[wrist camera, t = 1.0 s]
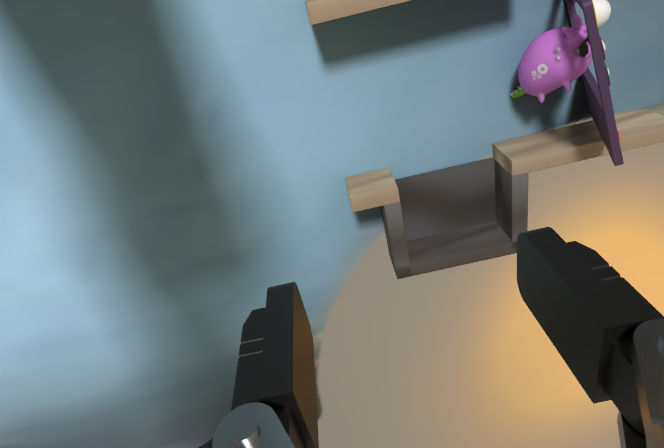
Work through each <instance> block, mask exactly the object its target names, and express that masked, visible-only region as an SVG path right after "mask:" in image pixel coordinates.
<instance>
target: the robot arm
mask: <svg viewBox="0 0 664 448" xmlns="http://www.w3.org/2000/svg"><path fill="white" fill-rule="evenodd" d="M517 282H518V287H519V291H520V294H521V296H522V298H523V300H524V302H525V303H526V305H527V306H528V308H529V309H530V311H531V312H532V314H533V315H534V317H535V318H536V319H537V321H538V322H539V324H540V325H541V327H542V328H543V330H544V331H545V333H546V334H547V336H548V337H549V339H550V340H551V342H552V343H553V345H554V346H555V347H556V349H557V350H558V352H559V353H560V355H561V356H562V358H563V359H564V361H565V362H566V363H567V365H568V367H569V368H570V370H571V371H572V373H573V374H574V376H575V377H576V379H577V380H578V381H579V383H580V384H581V386H582V387H583V389H584V390H585V392H586V393H587V395H588V396H589V398H590V399H591V401H592V402H593V403H598V402H603V401H608V400H612V401H613V403H614V404H615V405H616V407H617V408H618V409H619V412H618V418H617V422H618V430H619V437H620V444H621V448H664V316H663V315H662V314H661V313H659V312H658V311H657V310H656V309H655V308H654V307H653V306H652V305H651V304H650V303H649V302H648V301H647V300H646V299H645V298H644V297H643V296H642V295H641V294H640V293H639V292H637V290H635V289H634V288H633V287H632V286H631V285H630V284H629V283H628V282H627V281H626V280H625V279H624V278H621V277H620V274H619V273H618V272H617V271H616V270H615V269H614V268H613V267H610V266H609V264H608V263H607V262H606V261H605V260H604V259H603V258H602V257H601V256H600V255H599V254H598V253H597V252H596V251H595V250H593V249H591V248H588V247H587V246H584V245H582V244H580V243H578V242H576V241H573V242H568V243H566V242H565V241H564V240H563V239H562V238H561V237H560V236H559V235H558V234H557V233H556V232H555V231H554V230H553V229H552V228H550V227H545V228H541V229H536V230H531V231H527V232H522V233H519V235H518V237H517ZM239 356H240V358H239V359H238V366H237V373H236V380H235V387H234V394H233V402H232V408H231V412H229V413H228V414H227V415H226V416H225V417H224V418H223V419H222V420H221V422H220V423H219V425H218V426H217V428H216V430H215V433H214V436H213V438H212V439H211V440H210V441H209V442H207V443H206V444H204V445H202V446H201V447H199V448H319V446H318V425H317V405H316V386H315V366H314V346H313V337H312V332H311V327H310V323H309V320H308V317H307V314H306V311H305V308H304V305H303V302H302V299H301V296H300V293H299V290H298V287H297V285H296V283H295V282H291V283H287V284H282V285H278V286H273V287H269V288H268V290H267V300H266V307H265V308H261V309H256V310H252V312H251V314H250V315H249V317H248V318H247V320H246V322H245V323H244V325H243V330H242V337H241V345H240V351H239Z"/></svg>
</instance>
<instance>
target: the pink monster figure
mask: <svg viewBox="0 0 664 448" xmlns="http://www.w3.org/2000/svg"><path fill="white" fill-rule="evenodd" d="M565 1H566V5H567V10H568V14H569V19H570V24H571V28H567V27H562V28H556V29H552V30H549V31H546V32H544V33H543V34H541V35H539V36H538V37H537V38H536V39H534V40H533V41H532V43H531V44H530V45H529V46H528V48H527V49H526V51H525V52H524V54H523V56H522V58H521V61H520V64H519V69H518V78H519V82H520V85H521V87H518V86H517V87H518V90H515V91H513V93H511V96H512V98H517V97H520V96H522V95H523V94H526V93H528V94H530V95H533V96H537V97H538V99H539V101H540V103H543V101H544V98H545V95H546V94H548V93H550V92H552V91H554V90H555V89H557V88H559V87H561V86H564V87H565V88H566V89H567V90H568V91H570V89H571V82H572V81H573V80H575V79H577V78H578V77H579V76H581V75H582V78H583V83H584V87H585V92H586V96H587V101H588V106H589V110H590V114H591V116H592V118H593V120H594V122H595V124H596V127H597V129H598V131H599V133H600V135H601V137H602V139H603V141H604V144H605V146H606V148H607V150H608V152H609V154H610V156H611V158H612V161H613V163H614V165H615V166H617V165H621V164H623V158H622V153H621V148H620V143H619V140H620V137H619V132H618V130H617V127H616V121H615V116H614V111H613V106H612V100H611V95H610V90H609V86H610V80H609V76H610V73H609V69H608V68H607V67H606V64H605V63H604V60H605V54H604V51H606V48H605V44H604V42H603V41H601V38H600V36H599V32H598V28H599V27H600V26H601V25H603V24H604V23H605V22H606V21H607V20H608V18H609V16H610V13H611V7H610V4H609V2H608V1H607V0H565ZM576 1H577V3H578V4H579V6H580V7H581V8H582V10H583V13H584V18H585V23H586V24H585V25H584V26H583V25H582V22H581V18H580V17H579V16H578V15H577V14H576V9H575V5H574V4H575V3H576ZM586 30H587V33H588V35H587V34H586V33H585V31H586ZM591 57H593V62H594V67H595V72H596V77H597V82H598V84H597V83H596V81H595V79H594V77H593V75H592V74H591V72H590V70H589V68H588V66H589V63H590V61H591Z"/></svg>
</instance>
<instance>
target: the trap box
mask: <svg viewBox="0 0 664 448" xmlns="http://www.w3.org/2000/svg"><path fill="white" fill-rule="evenodd" d="M406 1H410V0H305V2H306V7H307V11H308V15H309V20H310V23H311V25H313V24H317V23H321V22H325V21H329V20H333V19H337V18H342V17H346V16H350V15H354V14H358V13H362V12H366V11H370V10H374V9H378V8H382V7H386V6H390V5H394V4H398V3H402V2H406ZM614 116H615V121H616V127H617V130H618V132H619V137H620V140H619V143H620V148H621V151H625V150H629V149H633V148H637V147H642V146H646V145H651V144H655V143H660V142H664V104H662V105H657V106H653V107H649V108H644V109H640V110H636V111H631V112H627V113H623V114H618V115H614ZM607 154H609V152H608V150H607V148H606V146H605V144H604V141H603V139H602V137H601V135H600V133H599V131H598V129H597V127H596V124H595V122H594V120H593V121H588V122H584V123H580V124H575V125H571V126H567V127H562V128H558V129H554V130H549V131H545V132H541V133H536V134H532V135H528V136H523V137H519V138H515V139H510V140H506V141H502V142H498V143H493V158H488V159H484V160H480V161H475V162H471V163H466V164H462V165H458V166H453V167H449V168H445V169H440V170H436V171H432V172H427V173H423V174H419V175H414V176H410V177H406V178H401V179H397V180H394V178H393V176H392V174H391V171H390V169H389V168H385V169H381V170H377V171H372V172H368V173H364V174H359V175H355V176H351V177H346V178H345V181H346V185H347V190H348V194H349V198H350V202H351V207H352V211H353V212H357V211H361V210H365V209H370V208H374V207H379V206H381V211H382V217H383V222H384V228H385V233H386V238H387V244H388V249H389V255H390V258H391V261H392V264H393V267H394V270H395V273H396V276H397V279H400V278H405V277H409V276H413V275H418V274H423V273H428V272H432V271H436V270H441V269H446V268H450V267H455V266H459V265H464V264H469V263H473V262H478V261H482V260H487V259H491V258H496V257H501V256H505V255H510V254H514V253H517V237H518V235H519V233H522V232H527V218H528V172H532V171H537V170H541V169H545V168H550V167H554V166H559V165H563V164H567V163H572V162H576V161H581V160H585V159H589V158H594V157H598V156H602V155H607Z"/></svg>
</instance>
